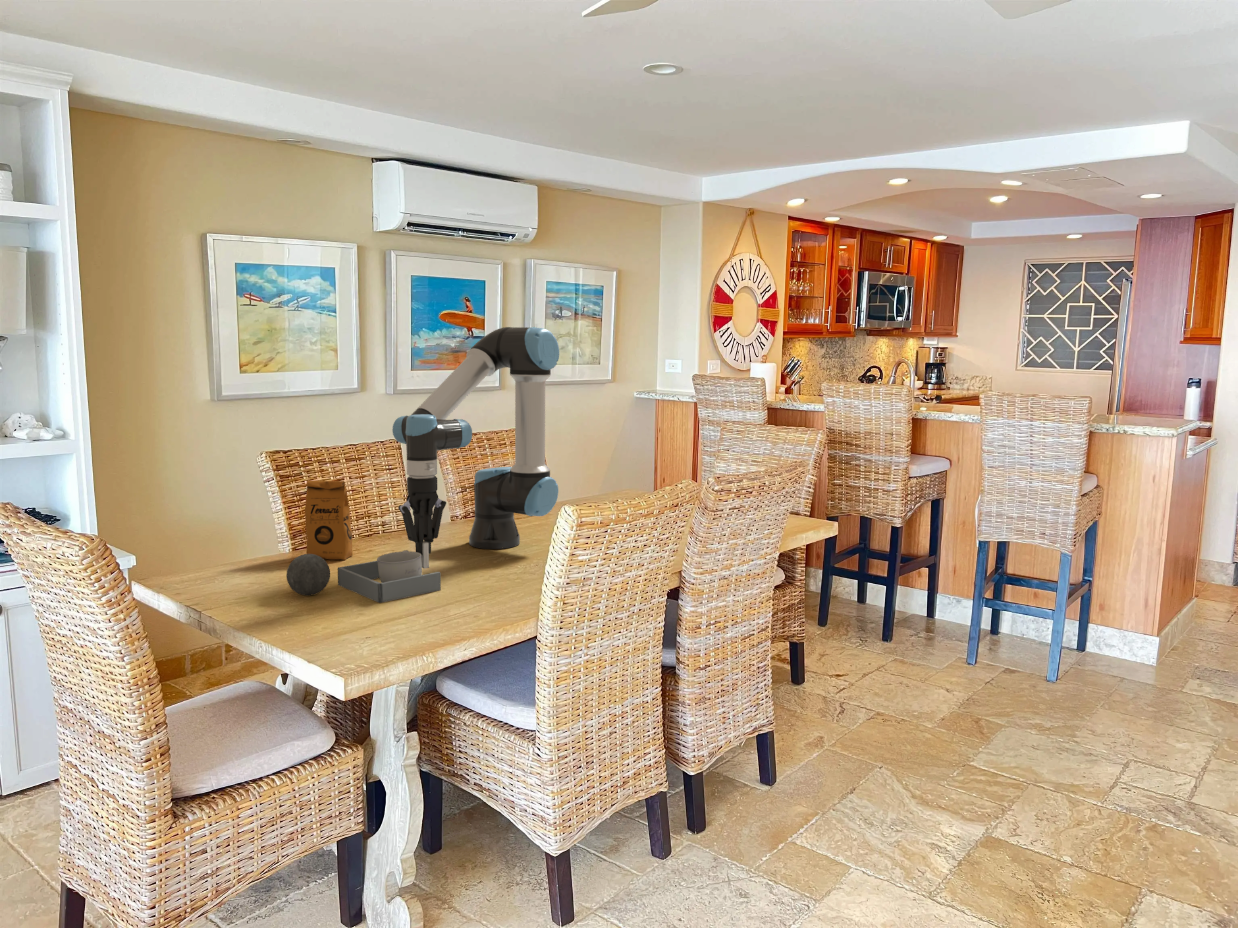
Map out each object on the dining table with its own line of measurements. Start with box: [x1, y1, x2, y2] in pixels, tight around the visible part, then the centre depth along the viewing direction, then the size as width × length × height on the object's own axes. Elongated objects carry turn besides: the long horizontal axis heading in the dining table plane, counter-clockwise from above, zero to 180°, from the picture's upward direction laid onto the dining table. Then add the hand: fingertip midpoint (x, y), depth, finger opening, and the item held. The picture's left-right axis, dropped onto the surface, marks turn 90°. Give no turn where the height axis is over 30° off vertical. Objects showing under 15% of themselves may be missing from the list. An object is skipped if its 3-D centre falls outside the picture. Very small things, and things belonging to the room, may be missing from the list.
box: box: [337, 560, 442, 604], centre depth 232 cm, size 17×21×4 cm
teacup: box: [376, 549, 423, 583], centre depth 234 cm, size 14×11×8 cm
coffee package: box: [304, 479, 354, 561], centre depth 260 cm, size 10×12×22 cm
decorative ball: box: [286, 553, 331, 597], centre depth 224 cm, size 10×10×10 cm
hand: (423, 566), depth 238 cm, fingers closed
